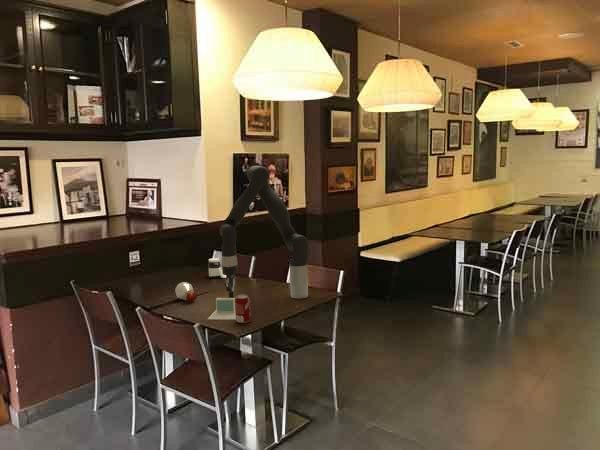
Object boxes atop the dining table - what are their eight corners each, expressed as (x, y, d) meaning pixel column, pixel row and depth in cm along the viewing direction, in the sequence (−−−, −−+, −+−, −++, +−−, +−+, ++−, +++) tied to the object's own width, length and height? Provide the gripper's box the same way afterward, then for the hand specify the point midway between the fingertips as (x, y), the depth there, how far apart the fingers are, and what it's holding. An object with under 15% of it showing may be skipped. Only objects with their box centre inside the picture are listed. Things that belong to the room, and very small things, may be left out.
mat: (217, 309, 243) (217, 308, 243) (245, 309, 241) (245, 308, 241) (207, 320, 228) (207, 318, 228) (236, 320, 226) (236, 319, 226)
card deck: (218, 310, 239) (217, 297, 238) (235, 310, 238) (235, 297, 237) (216, 312, 237) (215, 299, 236) (234, 312, 236) (233, 299, 235)
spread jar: (209, 275, 316) (208, 258, 315) (227, 274, 317) (226, 256, 316) (208, 280, 304) (207, 261, 303) (226, 279, 306) (225, 260, 304)
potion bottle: (183, 298, 269) (193, 308, 257) (169, 291, 264) (178, 301, 252) (192, 284, 271) (203, 293, 259) (178, 276, 265) (188, 285, 253)
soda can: (242, 325, 219) (241, 299, 217) (232, 322, 223) (231, 296, 221) (254, 321, 224) (252, 295, 222) (244, 318, 228) (242, 293, 226)
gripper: (226, 261, 248) (227, 294, 251) (218, 267, 235) (220, 302, 238) (240, 261, 247) (242, 294, 250) (233, 267, 234) (235, 302, 237)
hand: (231, 298), depth 244 cm, fingers closed
